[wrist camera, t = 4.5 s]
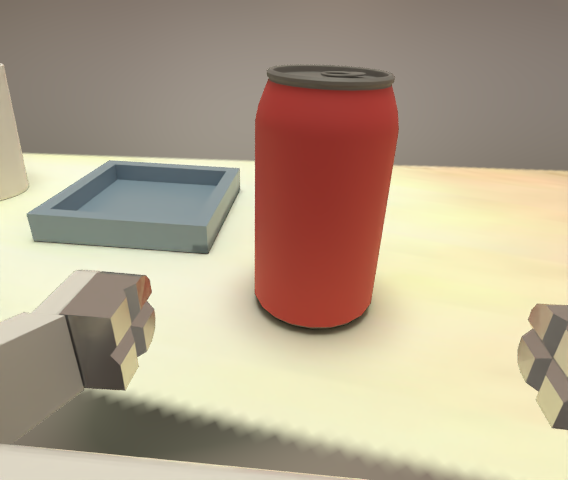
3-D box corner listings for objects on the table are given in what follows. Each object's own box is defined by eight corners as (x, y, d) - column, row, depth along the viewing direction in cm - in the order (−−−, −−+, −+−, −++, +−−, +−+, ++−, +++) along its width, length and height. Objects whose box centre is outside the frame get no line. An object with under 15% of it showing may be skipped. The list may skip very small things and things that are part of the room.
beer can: (395, 312, 23) (442, 77, 17) (293, 352, 20) (309, 83, 14) (325, 257, 28) (344, 62, 22) (234, 283, 25) (229, 64, 19)
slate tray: (33, 240, 28) (26, 213, 27) (112, 181, 39) (109, 160, 38) (208, 253, 28) (206, 226, 27) (240, 189, 38) (239, 168, 37)
